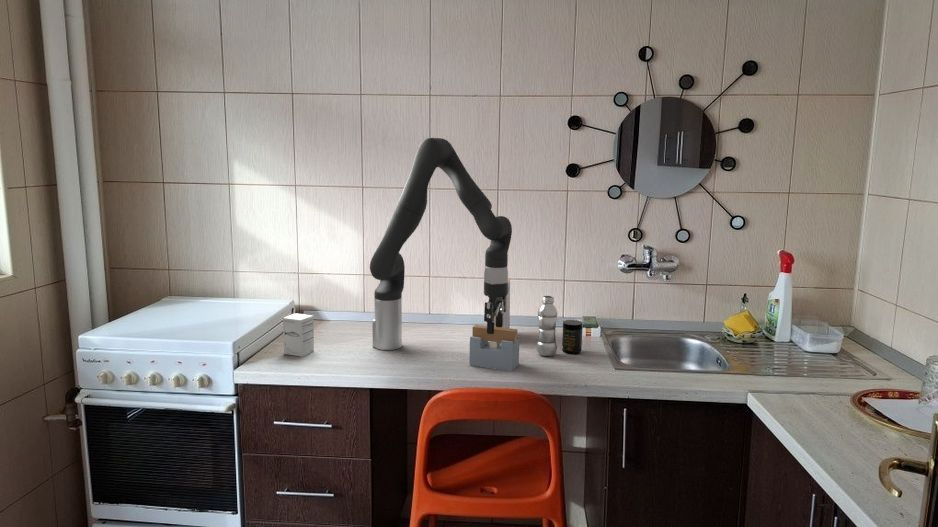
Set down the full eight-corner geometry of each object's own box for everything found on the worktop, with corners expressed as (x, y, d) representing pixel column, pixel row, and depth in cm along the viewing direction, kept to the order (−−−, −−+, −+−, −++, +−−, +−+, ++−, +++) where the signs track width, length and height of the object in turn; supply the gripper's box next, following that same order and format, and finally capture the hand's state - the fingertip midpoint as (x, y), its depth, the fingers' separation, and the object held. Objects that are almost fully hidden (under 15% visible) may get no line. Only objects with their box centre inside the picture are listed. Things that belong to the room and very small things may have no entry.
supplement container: (583, 355, 230) (584, 325, 229) (562, 354, 231) (563, 324, 229) (580, 349, 237) (581, 320, 235) (560, 348, 237) (561, 319, 235)
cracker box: (493, 332, 257) (494, 277, 254) (509, 332, 257) (511, 277, 253) (489, 342, 244) (490, 284, 240) (506, 343, 243) (508, 285, 239)
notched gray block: (469, 365, 218) (469, 337, 217) (478, 358, 226) (478, 331, 224) (511, 371, 214) (512, 342, 212) (518, 363, 221) (519, 335, 219)
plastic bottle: (555, 358, 226) (557, 299, 223) (535, 357, 227) (537, 298, 224) (557, 353, 232) (559, 295, 229) (537, 351, 234) (539, 294, 230)
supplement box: (283, 354, 227) (281, 317, 225) (296, 348, 234) (295, 312, 232) (301, 357, 224) (300, 319, 222) (315, 351, 231) (314, 314, 229)
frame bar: (472, 339, 219) (472, 326, 219) (475, 336, 222) (475, 324, 222) (514, 343, 215) (514, 331, 214) (517, 341, 217) (517, 329, 217)
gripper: (492, 275, 223) (491, 323, 226) (476, 283, 210) (476, 334, 212) (514, 277, 220) (512, 326, 223) (500, 285, 207) (499, 337, 210)
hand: (494, 330), depth 218 cm, fingers open, 8 cm apart
